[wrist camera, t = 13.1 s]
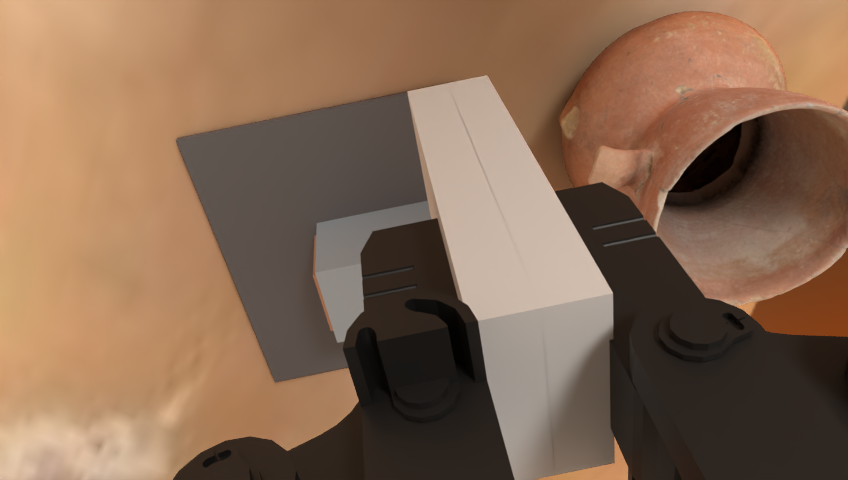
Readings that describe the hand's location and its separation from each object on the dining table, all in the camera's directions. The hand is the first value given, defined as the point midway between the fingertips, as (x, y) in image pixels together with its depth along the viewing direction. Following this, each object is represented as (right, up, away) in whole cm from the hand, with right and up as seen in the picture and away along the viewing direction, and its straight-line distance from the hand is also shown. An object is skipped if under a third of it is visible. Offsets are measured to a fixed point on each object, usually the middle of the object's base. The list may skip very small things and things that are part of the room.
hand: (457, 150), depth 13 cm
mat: (-6, -2, +36) cm, 37 cm away
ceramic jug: (+16, +7, +33) cm, 37 cm away
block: (-8, -5, +33) cm, 34 cm away
